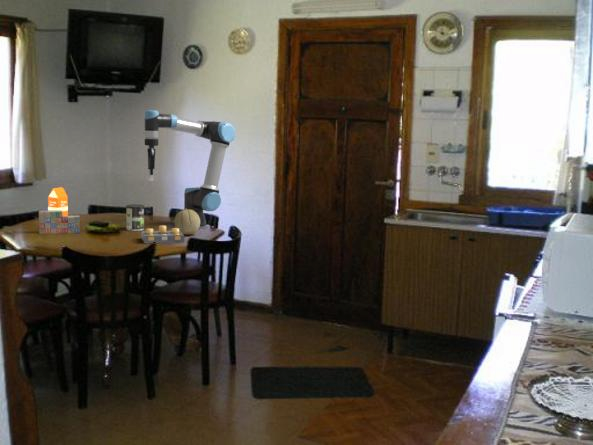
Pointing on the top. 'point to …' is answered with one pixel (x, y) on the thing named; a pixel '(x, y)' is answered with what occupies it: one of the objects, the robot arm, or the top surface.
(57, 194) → the orange juice
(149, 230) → the button
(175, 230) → the button
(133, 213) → the coffee can
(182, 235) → the button board
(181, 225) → the cantaloupe
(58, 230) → the stack of blocks
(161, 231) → the button mid
